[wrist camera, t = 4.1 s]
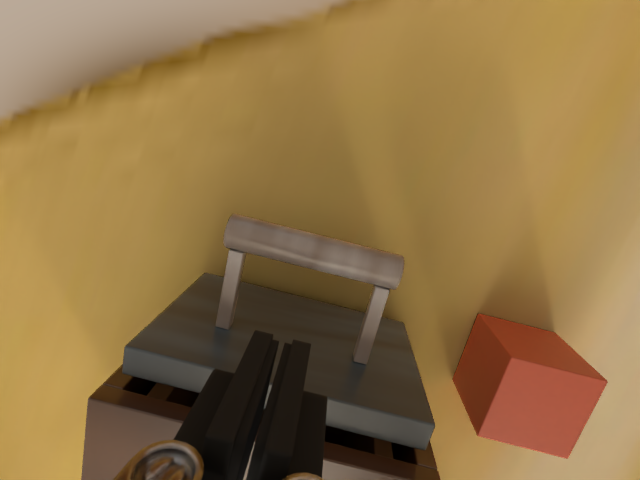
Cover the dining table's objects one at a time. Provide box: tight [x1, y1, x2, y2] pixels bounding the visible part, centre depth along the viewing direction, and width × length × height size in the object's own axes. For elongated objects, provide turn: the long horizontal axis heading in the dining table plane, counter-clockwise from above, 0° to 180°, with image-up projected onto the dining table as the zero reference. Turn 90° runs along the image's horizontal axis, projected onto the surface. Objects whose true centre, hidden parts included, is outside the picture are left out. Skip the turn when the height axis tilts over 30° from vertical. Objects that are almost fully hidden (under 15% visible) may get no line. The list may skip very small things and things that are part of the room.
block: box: [453, 314, 607, 459], centre depth 20 cm, size 4×4×4 cm
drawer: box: [122, 214, 435, 459], centre depth 18 cm, size 18×11×8 cm, turn 167°
